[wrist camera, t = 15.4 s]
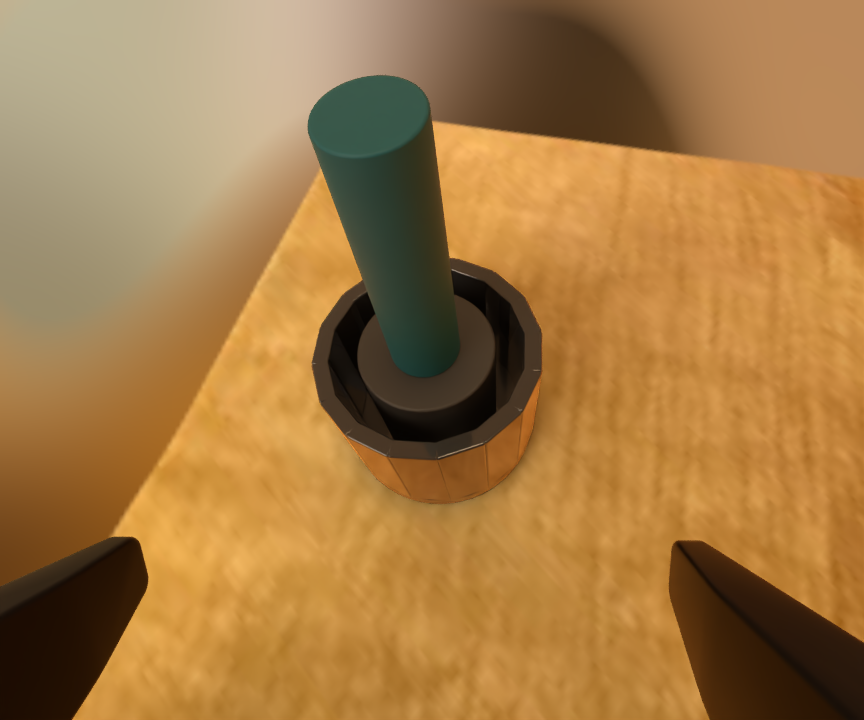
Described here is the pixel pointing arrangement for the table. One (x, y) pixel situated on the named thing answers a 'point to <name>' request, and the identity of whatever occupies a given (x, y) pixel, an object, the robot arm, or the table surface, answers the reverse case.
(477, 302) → the tumbler
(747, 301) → the table surface
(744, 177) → the table surface
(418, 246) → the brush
